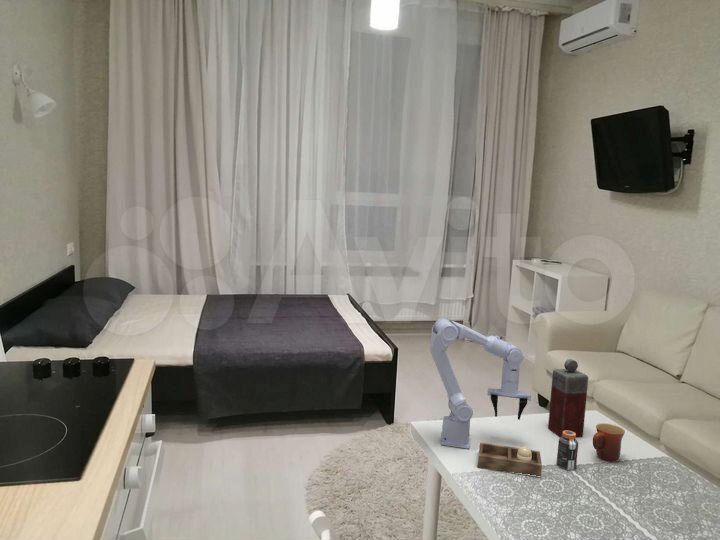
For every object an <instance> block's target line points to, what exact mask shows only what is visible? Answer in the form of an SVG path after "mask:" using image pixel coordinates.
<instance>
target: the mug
mask: <svg viewBox="0 0 720 540" xmlns="http://www.w3.org/2000/svg"><path fill="white" fill-rule="evenodd" d="M595 427H596V428H595V429H596V432H595V433H594V435H593V436H592V446H593V449H594V450H595V453H596V456H597V457H598V458H599V459H600V460H602V461H605V462H611V463H613V462H617V461H619V460H620V457H621V452H622V451H621V450H622V441H623V437H624V435H625V432H626V431H625V430H624V428H622V427H620V426H617V425H615V424H611V423H605V422H604V423H602V422H601V423H598V424H596V425H595Z"/></svg>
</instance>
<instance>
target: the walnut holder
mask: <svg viewBox="0 0 720 540" xmlns="http://www.w3.org/2000/svg"><path fill="white" fill-rule="evenodd" d="M519 448H520V447H514V446H506V445H501V444H492V443H486V442H479V448H478V449H479V450H478V456H477V457H478V459H477V460H478V461H477V468H479V469H484V470H491V471H495V472H497V471H498V472H502V471H506V472H505V473H508V472H514V473H513V474H515V473H522V474H530V475H536V476H541V477H542V469H543V465H542V457H541V451H540V450H533V449H530V450H531V452H532V459H531V462H526V461H520V460H517V452H518V449H519Z"/></svg>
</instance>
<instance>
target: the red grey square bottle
mask: <svg viewBox="0 0 720 540" xmlns="http://www.w3.org/2000/svg"><path fill="white" fill-rule="evenodd" d="M563 365H564V368H554V369H553V370H552V377H551V390H550V401H549V410H548V411H549V412H548V413H549V414H548V425H547V429H548V430H549V431H551V432H552V433H553V434H555V435H556V436H557V437H558V438H560V437H562V434H563V431H565V430H567V431H572V432H574V433H576V438H575V439H577V438H584V429H585V427H584V426H585V418H586V417H585V416H586V408H587V407H586V406H587V398H588V397H587V394H588V385H589V376H588V374H585V373H583V372H581V371H579V370H577V369H578V367H579V364H578V361H576V360H574V359H573V358H572V359H571V358H568V359H567V360H566V361H565V362H564V364H563Z"/></svg>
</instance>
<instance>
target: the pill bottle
mask: <svg viewBox="0 0 720 540" xmlns="http://www.w3.org/2000/svg"><path fill="white" fill-rule="evenodd" d="M557 443H558V445H557V454H556V456H557V457H556V465H557V467H559V468H561V469H563V468H564V469H563V470H568V471H573V470H575V469H576V468H577V463H578V452H579V441H578V440H577V438H576V433H574V432H572V431H567V430H565V431H563V434H562V437H558V442H557Z"/></svg>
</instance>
